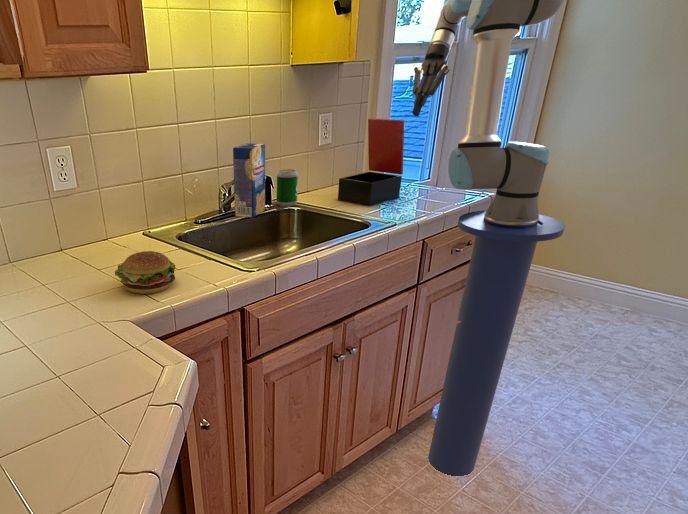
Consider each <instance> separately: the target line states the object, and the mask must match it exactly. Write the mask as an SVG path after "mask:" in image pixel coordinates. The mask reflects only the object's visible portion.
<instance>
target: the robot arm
mask: <svg viewBox="0 0 688 514" xmlns="http://www.w3.org/2000/svg"><path fill="white" fill-rule="evenodd" d="M563 3H564V0H445V2H444V5H443V7H442V8H441V11H440V14H439V17H438V20H437V23H436V26H435V29H434V31H433V34H432V37H431V39H430V42H429V46H428V48H427V51H426V53H425V56H424V61H423V62H422V63H421V65H420V66H418V67H417V66H415V67H413V71H414V78H413V79H414V80H413V85H412V91H411V92H412V94H413V95H414V96H415V97H414V101H413V108H412V111H411V114H412V115H413V117H419V116H420V114H421V111H422V108H423V107H425V105H426V103H427V100H428V98H430V97H433V96H434V95H435V94H436V92H437V90H438V88H439V87H440V85H441V83H442V82H443V80H444V79H445V77H446V75H448V73H450V71H451V69H450V67H449V66H448V65H447V64H446V63H447V60H448V57H449V54H450V50H451V49H452V46H453V43H454V41H455V38H456V35H457V32H458V30H459V27H460V25H461V23H462V21H463V20H464V19H465V18H466V27H467V30H470V31H473V32H472V40H474V42H475V44H476V45H477V46H476V53H475V60H474V67H473V74H472V81H471V88H470V95H469V96H470V97H469V103H468V108H467V117H466V124H465V131H464V136H463V138H461V139H460V140H459V141H458V142H457V147H456V148H455V149H452V150H451V152H450V154H449V158H448V165H447V166H448V167H447V168H448V178H449V181H450V184H451V185H452V187H453V188H454V189H456V190H468V191H471V190H493V189H494V190H495V189H496V191H495V195H494V197H493V198H492V201H491V203H490V204H489V206H488V207H487V209H486V210H487V211H486V213H485V216H484V221H485V222H486V223H488V224H491V225H494V226H499V227H506V228H529V227H534V226H536V225H537V224H538V223H539V224H540V225H542V224H543V223H542V222H541V221H539V214H540V213H539V212H540V211H539V201H538V198H539V195H540V190H541V186H542V183H543V181H544V180H543V179H544V177H545V173H546V169H547V165H548V164H549V163H548V162H549V155H550V149H549V148H548V147H547V146H544V145H541V144H537V143H531V142H521V141H508V142H507V143H506V144H505V147H502V140H501V139H500V138H499V136H498V130H499V124H500V123H499V122H500V118H501V117H500V116H501V111H502V103H503V98H504V91H505V85H506V79H507V73H508V66H509V61H510V54H511V47H512V42H513V39H515V37H517V36H518V35H519V33H520V30H521V27H530V26H531V27H532V26H535V25H536V26H537V25H539V24H541V23H544V22H546V21H548V20H549V19H550V18H552V17H553V16H555V14H557V12H558V11H559V9H560V8H561V7H562V4H563ZM421 76H422V77H421Z"/></svg>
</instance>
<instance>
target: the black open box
mask: <svg viewBox="0 0 688 514" xmlns="http://www.w3.org/2000/svg"><path fill="white" fill-rule="evenodd" d="M402 178H403V175H400V174H392V173H385V172H377V171H365V172H361V173H357V174H352V175H348V176H343V177H339V178H338V191H337V201H342V202H347V203H351V204H357V205H362V206H367V207H371V206H374V205H378V204H382V203H386V202H389V201H392V200H395V199H400V193H401V187H402V186H401V185H402Z"/></svg>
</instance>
